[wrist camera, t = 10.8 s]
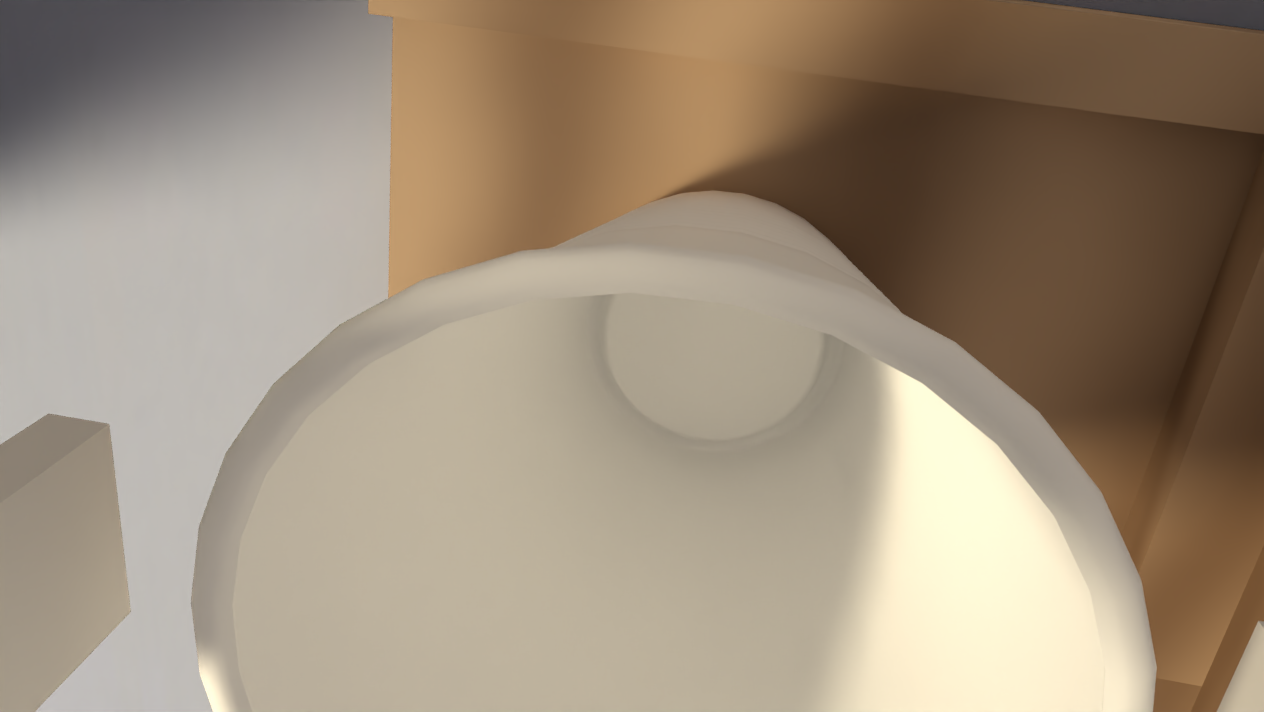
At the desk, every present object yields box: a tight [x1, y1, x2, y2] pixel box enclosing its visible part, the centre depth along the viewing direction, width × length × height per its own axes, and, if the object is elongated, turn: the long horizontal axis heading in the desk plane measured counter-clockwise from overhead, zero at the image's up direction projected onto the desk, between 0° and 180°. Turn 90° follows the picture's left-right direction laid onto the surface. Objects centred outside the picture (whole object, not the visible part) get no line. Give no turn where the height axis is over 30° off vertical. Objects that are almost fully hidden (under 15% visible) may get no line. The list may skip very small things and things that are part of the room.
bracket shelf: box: [368, 0, 1264, 712], centre depth 18 cm, size 20×14×10 cm
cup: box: [191, 190, 1157, 712], centre depth 15 cm, size 10×10×11 cm
